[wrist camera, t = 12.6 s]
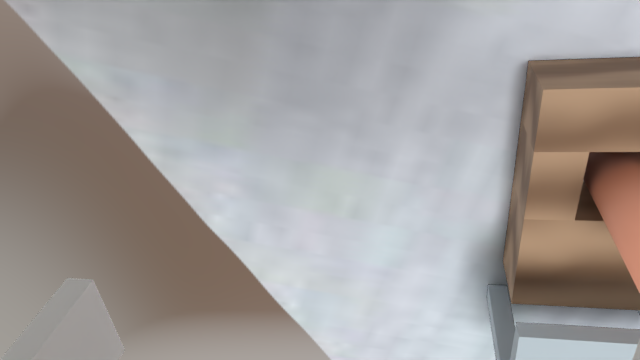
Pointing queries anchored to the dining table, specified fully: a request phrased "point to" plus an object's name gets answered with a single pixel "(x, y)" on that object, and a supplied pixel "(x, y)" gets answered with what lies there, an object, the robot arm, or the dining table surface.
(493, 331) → the grey-blue stool
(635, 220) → the dowel
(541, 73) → the socket block
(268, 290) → the dining table surface
